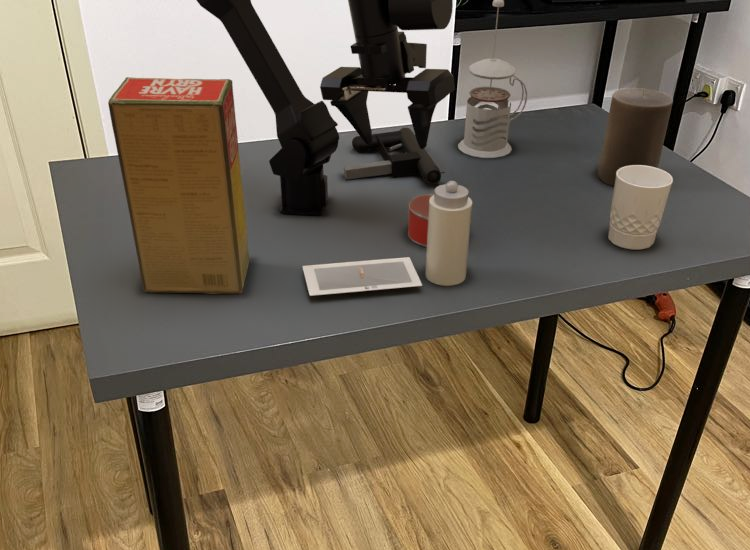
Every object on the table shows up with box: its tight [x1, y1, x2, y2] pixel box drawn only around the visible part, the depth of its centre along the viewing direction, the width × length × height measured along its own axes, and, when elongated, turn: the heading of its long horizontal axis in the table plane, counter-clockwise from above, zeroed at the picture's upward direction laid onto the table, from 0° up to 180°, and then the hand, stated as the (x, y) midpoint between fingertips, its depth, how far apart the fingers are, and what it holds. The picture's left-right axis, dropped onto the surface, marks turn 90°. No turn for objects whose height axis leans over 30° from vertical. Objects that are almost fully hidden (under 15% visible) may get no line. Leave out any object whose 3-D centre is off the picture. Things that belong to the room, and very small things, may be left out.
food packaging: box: [107, 77, 251, 295], centre depth 105 cm, size 13×9×25 cm
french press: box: [457, 0, 528, 159], centre depth 143 cm, size 10×12×25 cm
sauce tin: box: [407, 193, 434, 248], centre depth 122 cm, size 8×8×5 cm
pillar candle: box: [597, 87, 674, 187], centre depth 137 cm, size 10×10×15 cm
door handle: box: [343, 127, 446, 185], centre depth 142 cm, size 3×20×16 cm
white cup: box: [607, 165, 674, 251], centre depth 121 cm, size 8×8×10 cm
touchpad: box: [301, 256, 423, 297], centre depth 111 cm, size 8×15×2 cm, turn 102°
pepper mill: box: [424, 180, 473, 287], centre depth 110 cm, size 6×6×14 cm
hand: (395, 145), depth 118 cm, fingers open, 9 cm apart
